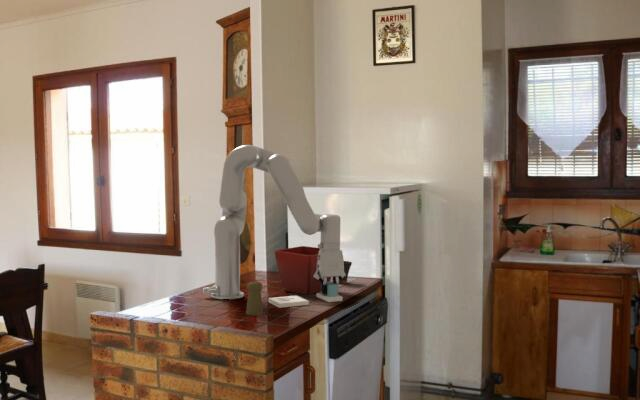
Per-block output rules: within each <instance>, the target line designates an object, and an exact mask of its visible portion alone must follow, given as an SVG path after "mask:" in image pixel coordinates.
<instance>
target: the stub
mask: <svg viewBox="0 0 640 400" xmlns="http://www.w3.org/2000/svg"><path fill="white" fill-rule="evenodd" d="M326 285H327V295H324V294H322V292H317V293H316V298H318V299H320V300H323V301H325V302H328V303H334V302H343V296H342V295H339V284H335V283H333V281H331V280H330V281H329V282H326Z"/></svg>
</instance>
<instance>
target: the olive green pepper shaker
mask: <svg viewBox="0 0 640 400" xmlns="http://www.w3.org/2000/svg"><path fill="white" fill-rule="evenodd" d="M246 288H247V291H248V295H247V302H246V309H245V310H246V311H245V315H247V314H248V315H247V316H255V317H256V316H261V315H264V308H263V300H262V290H263V283H262V282H261V281H255V280H254V281H250V282H248V284H247V286H246Z"/></svg>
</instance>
